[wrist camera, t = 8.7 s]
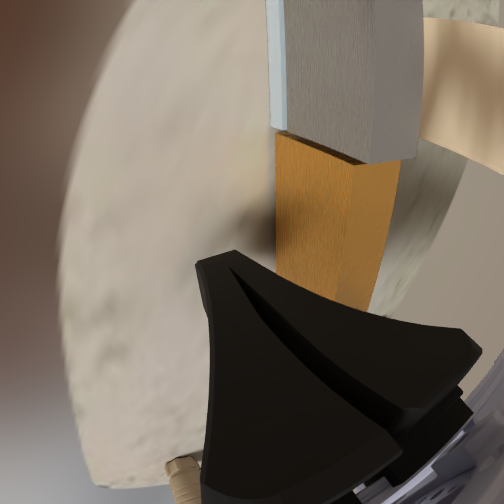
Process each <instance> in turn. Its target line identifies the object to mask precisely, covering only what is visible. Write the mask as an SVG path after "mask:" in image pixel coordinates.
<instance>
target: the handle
mask: <svg viewBox="0 0 504 504" xmlns="http://www.w3.org/2000/svg"><path fill="white" fill-rule="evenodd" d="M165 470H166V474H167V476H170V478H171V479H170V480H169V482H170V487H171V490H172V493H173V496H174V499H175V502H176V504H201V488H200V472H201V471H200V470H201V468H200V466H199V464H198V463H197V461H196V460H195V459H193V458H192V457H184V458H176V459H174V460H173V461H171V462H169V463H166V465H165Z"/></svg>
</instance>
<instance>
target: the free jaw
mask: <svg viewBox="0 0 504 504" xmlns="http://www.w3.org/2000/svg"><path fill="white" fill-rule="evenodd" d="M283 4H284V25H285V52H286V90H287V132H279V133H275V163H276V274H278V275H279V276H281V277H283V278H285V279H287V280H289V281H291V282H293V283H295V284H297V285H299V286H301V287H303V288H305V289H307V290H309V291H311V292H314V293H316V294H318V295H320V296H323V297H325V298H327V299H330V300H333V301H335V302H338V303H341V304H343V305H346V306H349V307H352V308H355V309H358V310H361V311H364V312H367V310H368V307H369V303H370V300H371V297H372V293H373V290H374V286H375V283H376V279H377V276H378V272H379V268H380V264H381V260H382V256H383V252H384V248H385V244H386V240H387V235H388V231H389V226H390V222H391V217H392V212H393V207H394V202H395V196H396V191H397V185H398V179H399V173H400V166H401V160H405V159H413V158H416V152H417V145H418V137H419V129H420V119H421V109H422V96H423V78H424V21H423V4H422V0H283Z"/></svg>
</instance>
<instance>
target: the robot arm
mask: <svg viewBox="0 0 504 504" xmlns="http://www.w3.org/2000/svg"><path fill="white" fill-rule="evenodd" d="M195 268H196V273H197V278H198V283H199V288H200V292H201V297H202V302H203V306H204V309H205V312H206V314H207V317H208V323H209V339H210V377H209V400H208V412H207V423H206V435H205V443H204V450H203V458H202V465H201V472H200V488H201V504H504V349H503V350H502V352H501V353H500V355H499V356H498V357H497V359H496V360H495V362H494V365H493V366H492V367H491V369H490V370H489V371H488V373H487V374H486V375H485V377H484V378H483V379H482V380H481V382H480V383H479V384H478V385H477V387H476V388H475V389H474V390H473V391H472V393H471V394H470V395H469V396H468V397H467V398H466V399H465V401H463V400H462V399H461V398H460V396H461V395H462V394H463V391H462V389H461V388H460V387H459V386H458V384H459V382H460V381H461V380H462V379H463V378H464V376H465V375H466V374H467V373H468V372H469V370H470V369H471V368H472V367H473V365H474V364H475V363H476V361H477V360H478V359H479V357H480V356H481V354H482V348H481V347H480V346H479V345H478V344H477V343H476V342H475V341H474V340H472V339H471V338H470V337H469V336H468V335H467V334H466V333H465V332H464V331H463V330H462V329H458V328H447V327H437V326H428V325H421V324H415V323H409V322H404V321H399V320H395V319H390V318H386V317H382V316H379V315H375V314H371V313H368V312H364V311H361V310H358V309H355V308H352V307H349V306H346V305H343V304H341V303H338V302H335V301H333V300H330V299H327V298H325V297H323V296H320V295H318V294H316V293H314V292H311V291H309V290H307V289H305V288H303V287H301V286H299V285H297V284H295V283H293V282H291V281H289V280H287V279H285V278H283V277H281V276H279V275H278V274H276V273H274V272H272V271H270V270H269V269H267V268H265V267H263V266H262V265H260V264H258V263H257V262H255V261H253V260H252V259H250V258H248V257H247V256H245V255H243V254H242V253H240V252H238V251H237V250H232V251H229V252H225V253H222V254H219V255H216V256H212V257H209V258H206V259H202V260H199V261H197V263H196V264H195ZM355 488H356V494H355V493H354V492H353V491H352V490H353V489H355Z"/></svg>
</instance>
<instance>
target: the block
mask: <svg viewBox="0 0 504 504" xmlns="http://www.w3.org/2000/svg"><path fill="white" fill-rule="evenodd" d="M423 21H424V78H423V96H422V109H421V119H420V129H419V138H421V139H424V140H427V141H429V142H432V143H434V144H437V145H439V146H442V147H444V148H447V149H449V150H451V151H454V152H456V153H458V154H460V155H463V156H465V157H467V158H469V159H471V160H474V161H476V162H478V163H480V164H482V165H484V166H486V167H488V168H490V169H492V170H494V171H496V172H498V173H500V174H502V175H503V176H504V29H502V28H498V27H493V26H488V25H483V24H477V23H471V22H464V21H456V20H448V19H437V18H423Z"/></svg>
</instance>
